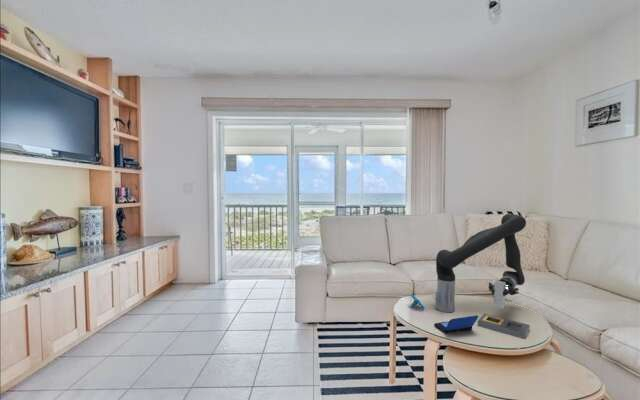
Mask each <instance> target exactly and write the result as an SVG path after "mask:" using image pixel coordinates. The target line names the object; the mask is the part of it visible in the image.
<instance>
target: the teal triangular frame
mask: <svg viewBox="0 0 640 400" xmlns="http://www.w3.org/2000/svg"><path fill="white" fill-rule="evenodd" d="M410 297H411V298H412V299H413V302H412V303H411V306H410V307H411V309H412V308H413V309H414V307H415V306H417V305H418V306H419V307H420V308H422V310H424V309H425V307H424V305H423V304H422V302H421V301H420V299H418V298H417V297H416V296H415V295H414V294H410Z"/></svg>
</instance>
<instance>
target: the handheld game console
mask: <svg viewBox="0 0 640 400" xmlns="http://www.w3.org/2000/svg"><path fill="white" fill-rule="evenodd" d="M478 318H479V316H478V315H469V316H463V317H456V318H455V317H454V318H452V319H450V320H449V321H441V322H435V323H434V324H433V325H434V327H435V328H437V329H438V330H439V331H440V332H442V333H443V334H445V335H446V334H447V335H448V334H453V333H454V334H455V333H458V332H468V331H472V330H473V326H474V325H475V323H476V322H477V321H478Z"/></svg>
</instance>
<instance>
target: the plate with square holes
mask: <svg viewBox="0 0 640 400" xmlns="http://www.w3.org/2000/svg"><path fill="white" fill-rule="evenodd" d="M477 326H478V327H482V328H485V329H488V330H491V331H495V332H499V333H501V334H507V335H509V336H512V337H517V338H520V339H524V340H525V339H526V338H527V337H528V334H529V332H530V328H531V327H530V326H531V325H530V324H528V323H524V322H521V321H515V320H512V319H507V318H504V317H500V316H497V315H493V314H492V315H491V314H489V313H488V314H487V313H483V314H482V316H481V317H480V318H479V319H477Z"/></svg>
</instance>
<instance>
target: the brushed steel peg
mask: <svg viewBox="0 0 640 400" xmlns="http://www.w3.org/2000/svg"><path fill="white" fill-rule="evenodd" d="M494 284H495V285H494ZM494 284H493V285H494V294H493V307H494V308H499V309H504V308H505V307H506V295H505V296H503V291H504V290H506V282H502V281H499V280H496V281H494Z"/></svg>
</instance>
